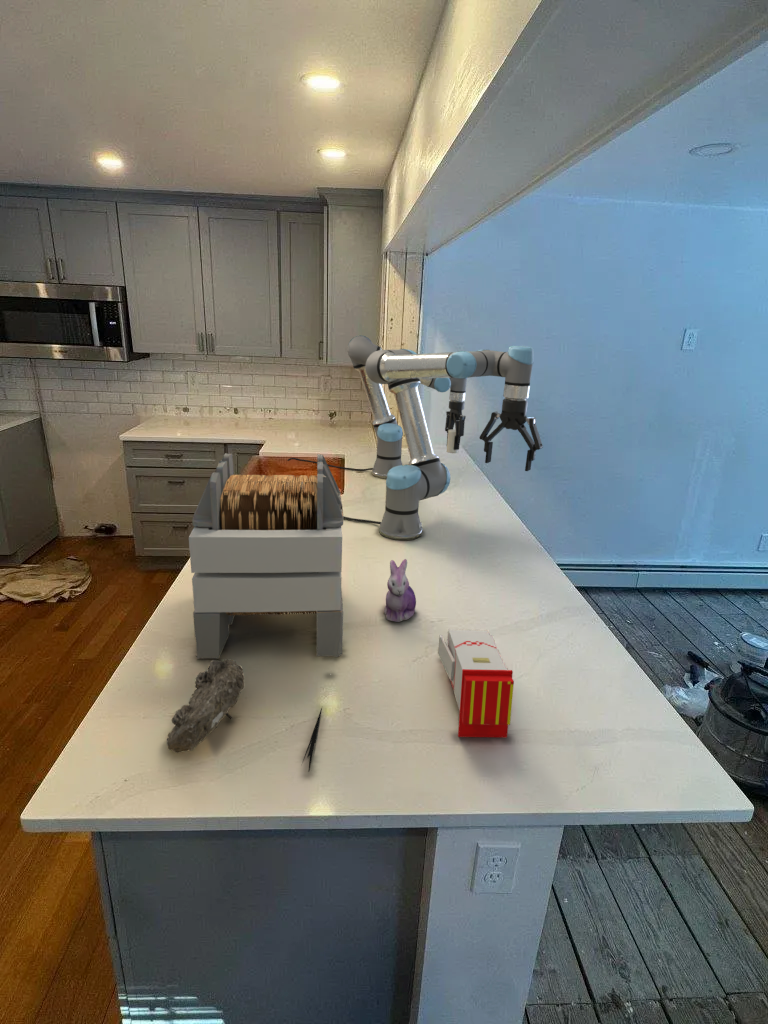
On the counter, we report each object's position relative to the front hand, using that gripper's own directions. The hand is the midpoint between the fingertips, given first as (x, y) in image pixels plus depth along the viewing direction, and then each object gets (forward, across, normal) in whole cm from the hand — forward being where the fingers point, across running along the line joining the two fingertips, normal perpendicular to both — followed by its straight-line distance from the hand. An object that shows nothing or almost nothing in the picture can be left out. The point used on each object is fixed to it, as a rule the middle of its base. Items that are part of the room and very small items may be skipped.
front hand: (507, 466), depth 180 cm
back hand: (+18, +62, -79) cm, 102 cm away
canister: (+20, +62, -79) cm, 103 cm away
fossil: (+29, +8, +111) cm, 115 cm away
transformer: (+29, +24, +79) cm, 87 cm away
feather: (+29, -9, +99) cm, 104 cm away
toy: (+29, -28, +73) cm, 83 cm away
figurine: (+29, +2, +56) cm, 63 cm away
